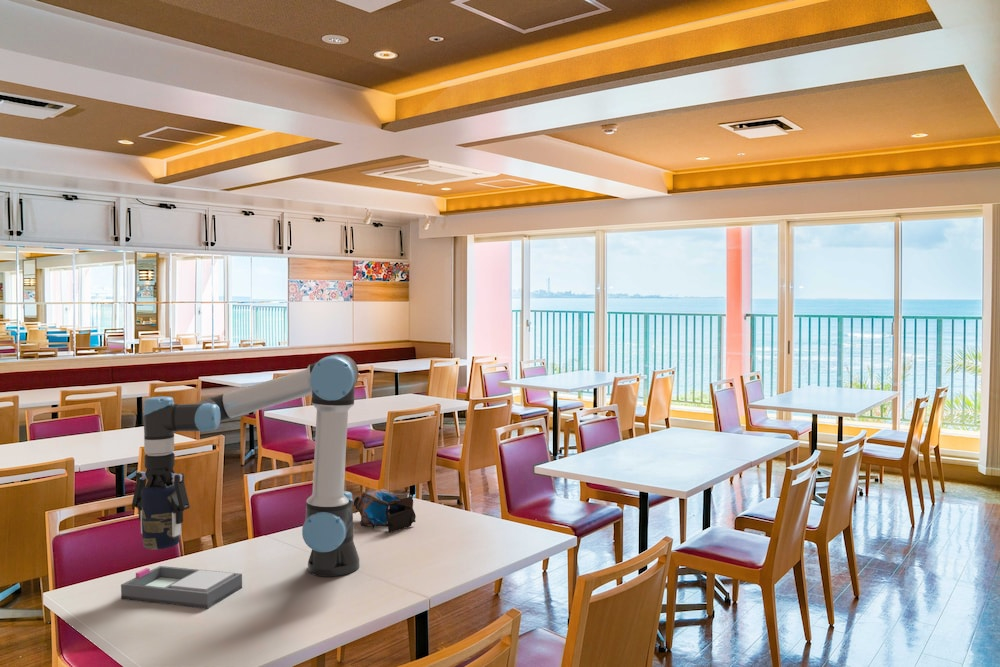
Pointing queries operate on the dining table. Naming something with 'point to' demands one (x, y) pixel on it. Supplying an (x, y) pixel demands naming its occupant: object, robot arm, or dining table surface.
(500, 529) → the dining table surface
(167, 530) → the canister
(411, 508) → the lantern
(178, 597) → the grey divided tray
